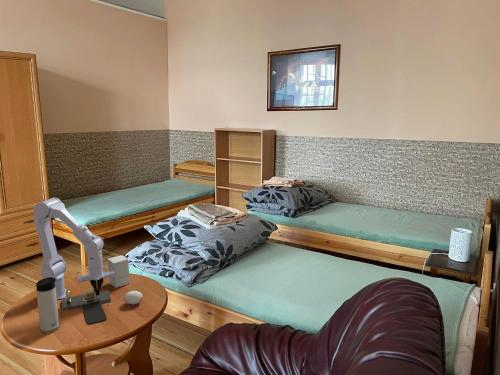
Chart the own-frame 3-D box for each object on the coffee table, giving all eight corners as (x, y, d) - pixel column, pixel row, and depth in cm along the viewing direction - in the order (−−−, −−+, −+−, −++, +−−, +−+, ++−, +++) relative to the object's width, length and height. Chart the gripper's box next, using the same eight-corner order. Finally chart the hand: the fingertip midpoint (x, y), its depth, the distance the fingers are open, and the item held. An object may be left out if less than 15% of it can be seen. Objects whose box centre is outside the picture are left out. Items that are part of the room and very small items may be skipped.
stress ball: (142, 307, 167) (142, 292, 169) (142, 305, 160) (142, 289, 162) (124, 308, 165) (125, 293, 168) (123, 306, 158) (123, 290, 160)
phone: (100, 303, 163) (107, 319, 150) (100, 304, 163) (107, 321, 150) (82, 307, 159) (87, 324, 147) (82, 309, 159) (87, 326, 147)
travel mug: (58, 331, 142) (53, 282, 138) (38, 334, 140) (33, 284, 136) (61, 323, 148) (57, 275, 144) (42, 325, 146) (37, 277, 142)
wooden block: (86, 295, 166) (86, 288, 166) (93, 294, 168) (93, 287, 167) (87, 300, 162) (86, 293, 161) (94, 299, 163) (94, 292, 163)
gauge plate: (62, 301, 165) (61, 287, 164) (108, 292, 173) (108, 279, 172) (62, 310, 157) (61, 296, 156) (111, 301, 165) (110, 287, 164)
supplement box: (123, 278, 188) (122, 254, 185) (130, 283, 182) (128, 259, 180) (108, 283, 183) (107, 258, 180) (115, 288, 177) (113, 263, 175)
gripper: (77, 271, 157) (79, 302, 159) (114, 266, 163) (116, 295, 166) (76, 265, 163) (79, 294, 166) (112, 260, 169) (114, 288, 172)
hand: (97, 294), depth 166 cm, fingers closed
